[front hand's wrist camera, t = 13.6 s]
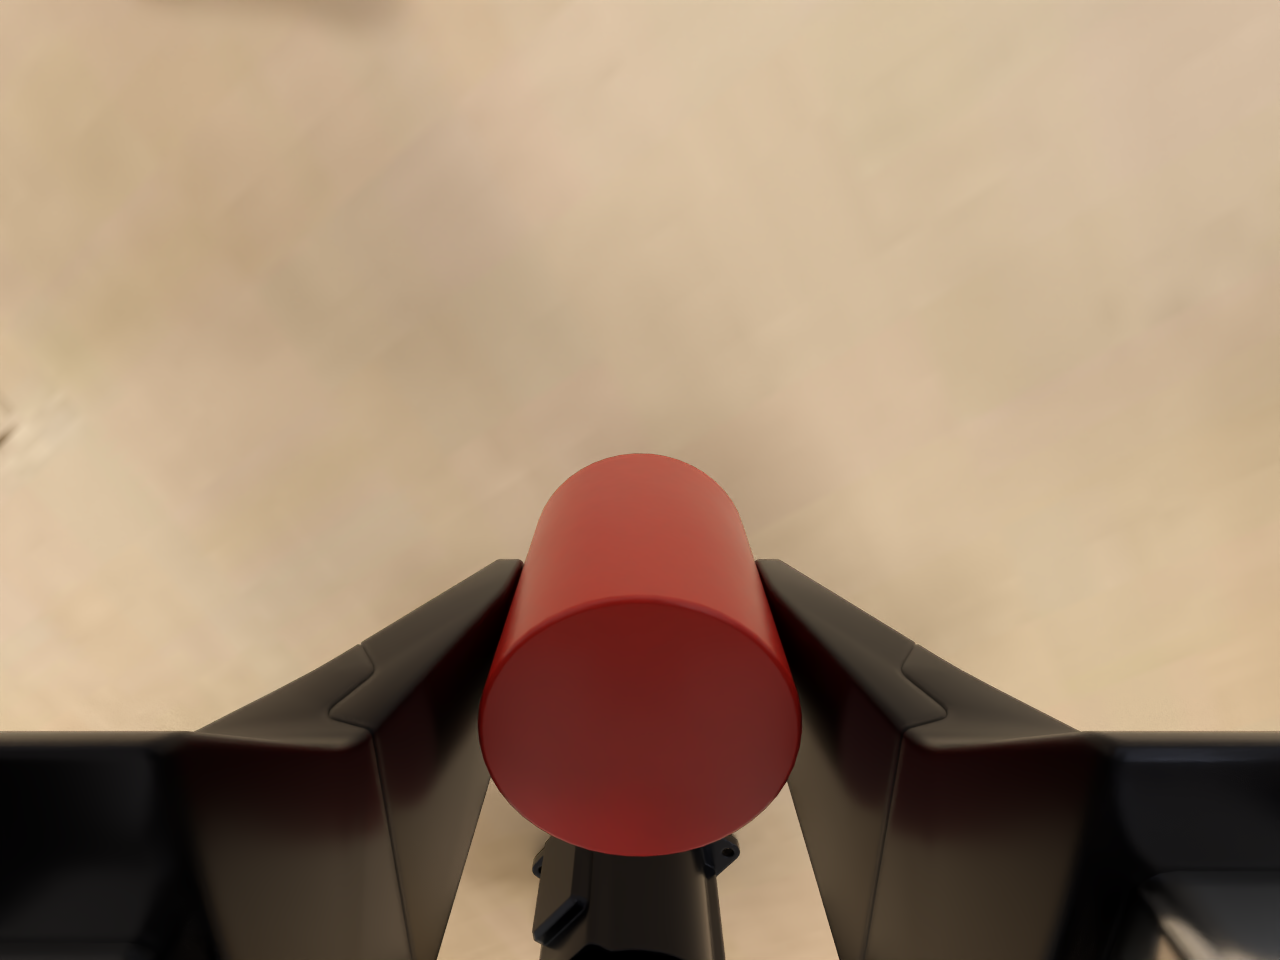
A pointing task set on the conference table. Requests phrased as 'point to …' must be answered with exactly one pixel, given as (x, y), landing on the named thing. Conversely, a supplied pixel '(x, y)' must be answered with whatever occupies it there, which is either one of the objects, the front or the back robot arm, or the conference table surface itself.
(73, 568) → the conference table surface
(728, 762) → the can
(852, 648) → the front robot arm
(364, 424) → the conference table surface
